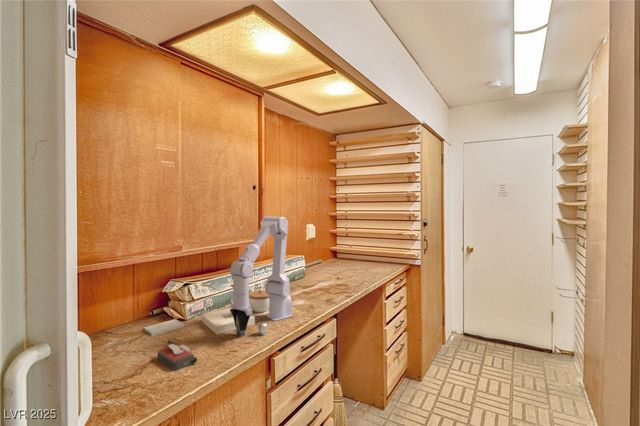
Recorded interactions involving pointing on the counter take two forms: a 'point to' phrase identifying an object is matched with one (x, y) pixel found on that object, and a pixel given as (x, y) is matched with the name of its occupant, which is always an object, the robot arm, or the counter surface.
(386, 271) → the counter surface
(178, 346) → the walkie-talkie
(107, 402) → the counter surface
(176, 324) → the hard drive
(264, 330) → the short pin
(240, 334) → the tall pin
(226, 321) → the hole block
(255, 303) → the lidded jar
